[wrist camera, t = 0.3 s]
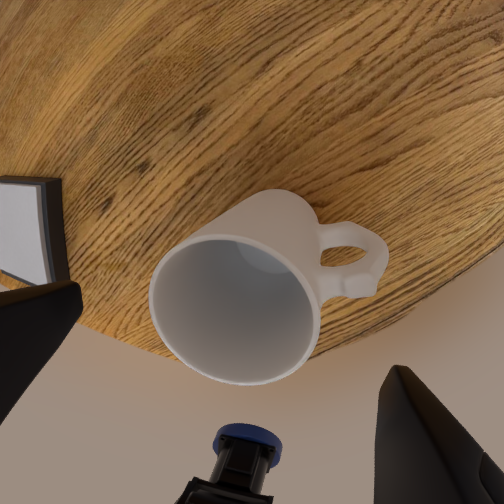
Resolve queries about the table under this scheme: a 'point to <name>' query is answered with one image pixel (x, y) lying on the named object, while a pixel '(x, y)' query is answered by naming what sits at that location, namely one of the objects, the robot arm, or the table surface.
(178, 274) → the mug
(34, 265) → the scale
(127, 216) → the table surface
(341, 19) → the table surface
